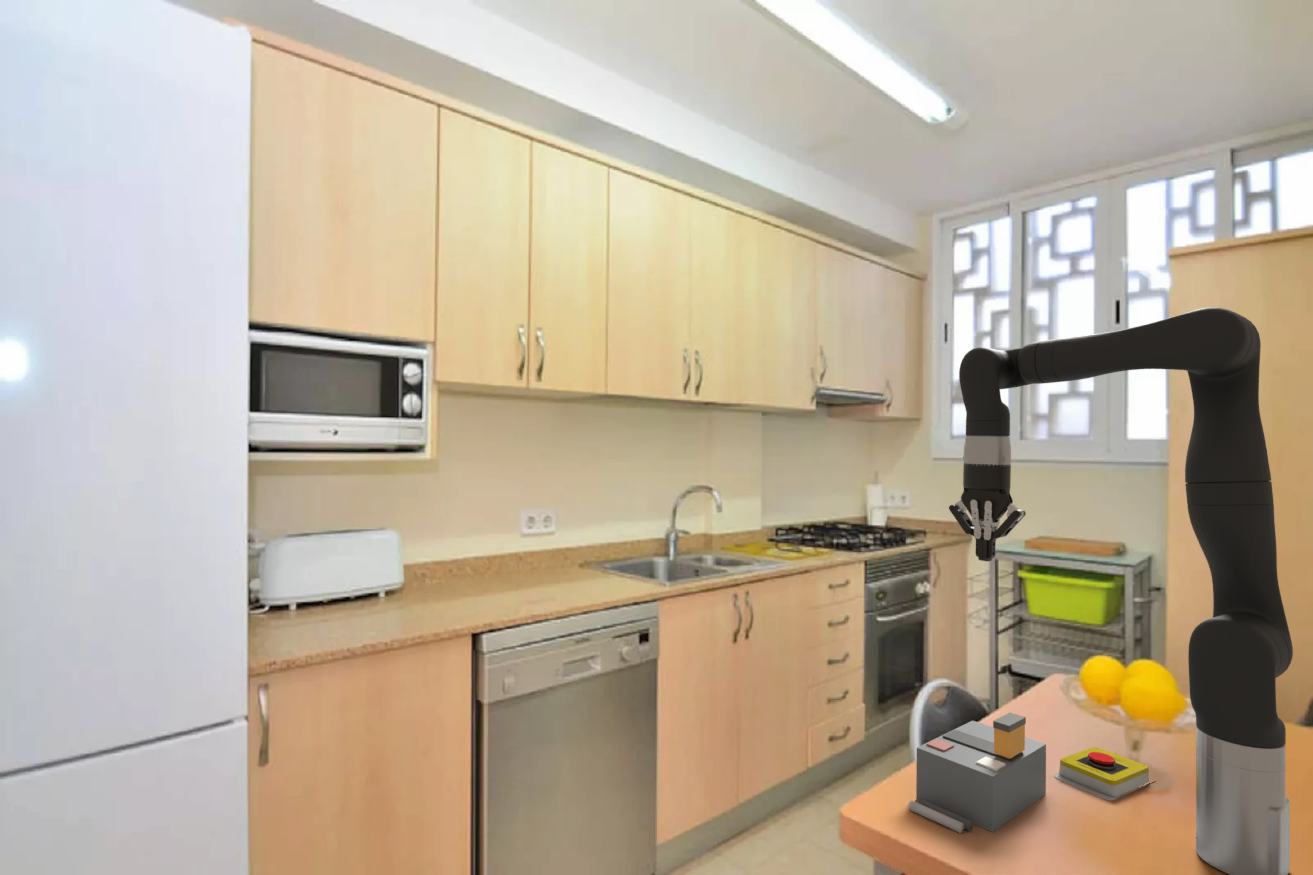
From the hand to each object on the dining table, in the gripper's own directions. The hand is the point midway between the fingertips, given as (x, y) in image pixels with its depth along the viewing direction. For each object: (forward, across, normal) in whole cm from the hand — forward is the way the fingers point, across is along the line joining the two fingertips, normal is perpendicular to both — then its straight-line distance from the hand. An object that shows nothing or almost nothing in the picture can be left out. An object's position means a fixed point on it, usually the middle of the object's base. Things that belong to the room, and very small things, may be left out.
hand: (985, 560), depth 121 cm
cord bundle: (+36, -5, +23) cm, 43 cm away
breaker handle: (+27, -10, +11) cm, 31 cm away
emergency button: (+36, -16, -11) cm, 41 cm away
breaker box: (+36, -5, +11) cm, 38 cm away
